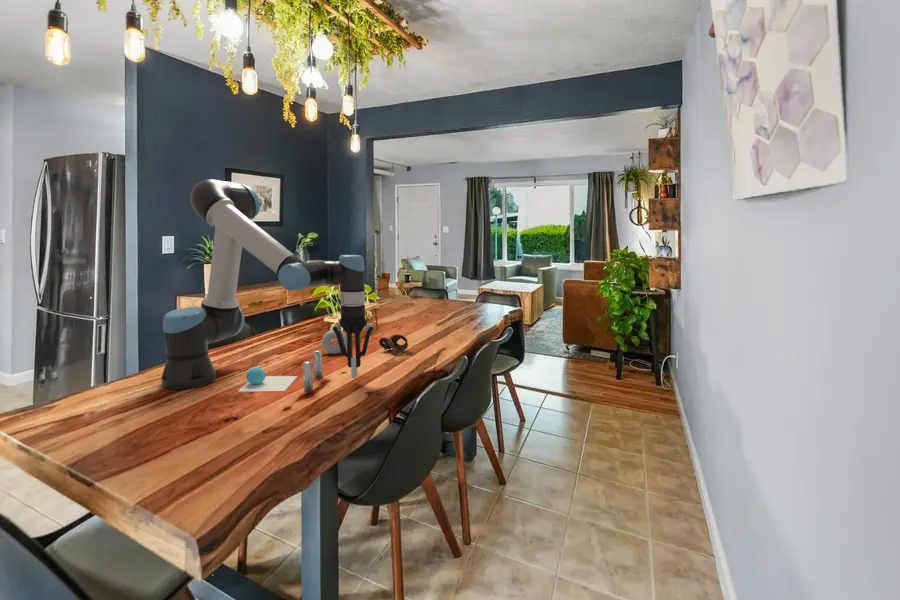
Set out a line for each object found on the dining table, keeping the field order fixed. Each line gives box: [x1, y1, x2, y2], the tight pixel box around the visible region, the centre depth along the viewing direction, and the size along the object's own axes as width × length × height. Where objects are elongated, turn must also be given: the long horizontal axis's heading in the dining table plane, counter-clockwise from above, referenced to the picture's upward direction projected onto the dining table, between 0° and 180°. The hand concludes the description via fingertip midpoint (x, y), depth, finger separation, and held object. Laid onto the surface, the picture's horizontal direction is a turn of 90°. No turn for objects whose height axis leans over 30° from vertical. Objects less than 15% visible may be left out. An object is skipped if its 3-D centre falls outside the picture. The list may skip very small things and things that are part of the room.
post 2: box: [312, 349, 323, 379], centre depth 146 cm, size 3×3×9 cm
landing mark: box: [237, 375, 298, 393], centre depth 140 cm, size 14×14×1 cm
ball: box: [245, 366, 266, 385], centre depth 139 cm, size 6×6×6 cm
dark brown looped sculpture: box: [378, 334, 409, 355], centre depth 178 cm, size 12×10×8 cm
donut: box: [321, 329, 347, 355], centre depth 174 cm, size 10×4×10 cm, turn 104°
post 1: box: [302, 360, 314, 393], centre depth 134 cm, size 3×3×9 cm
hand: (354, 376), depth 141 cm, fingers closed
